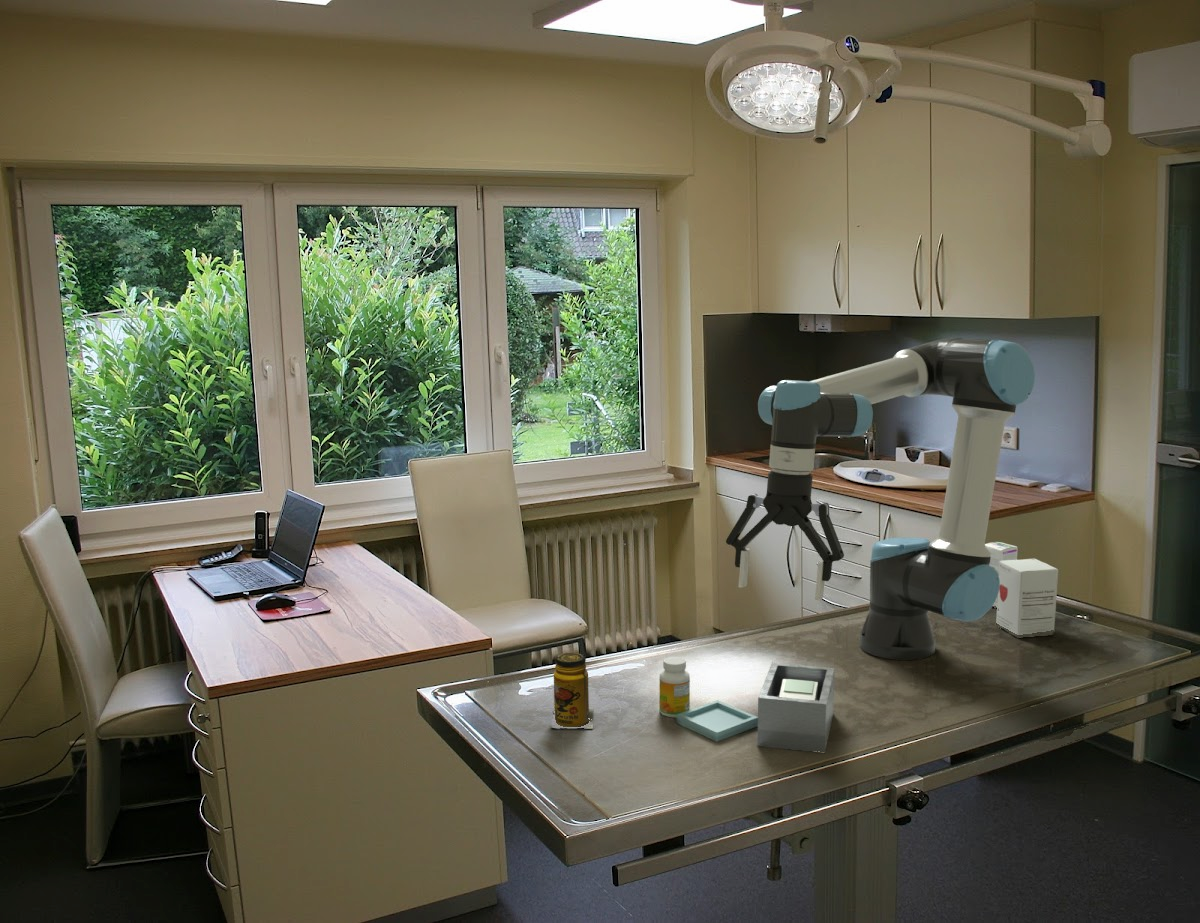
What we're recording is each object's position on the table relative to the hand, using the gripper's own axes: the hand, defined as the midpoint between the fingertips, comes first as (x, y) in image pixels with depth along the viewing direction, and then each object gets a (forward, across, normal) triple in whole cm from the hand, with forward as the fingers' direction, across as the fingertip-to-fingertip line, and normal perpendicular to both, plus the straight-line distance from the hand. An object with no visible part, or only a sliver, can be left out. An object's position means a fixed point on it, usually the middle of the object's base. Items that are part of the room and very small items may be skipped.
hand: (780, 592), depth 192 cm
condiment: (+26, -31, -14) cm, 43 cm away
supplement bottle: (+24, -16, -4) cm, 29 cm away
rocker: (+18, +5, -3) cm, 18 cm away
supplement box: (+16, +37, +68) cm, 79 cm away
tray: (+24, -8, -6) cm, 25 cm away
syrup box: (+16, +30, +85) cm, 91 cm away
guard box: (+23, +6, -2) cm, 23 cm away
